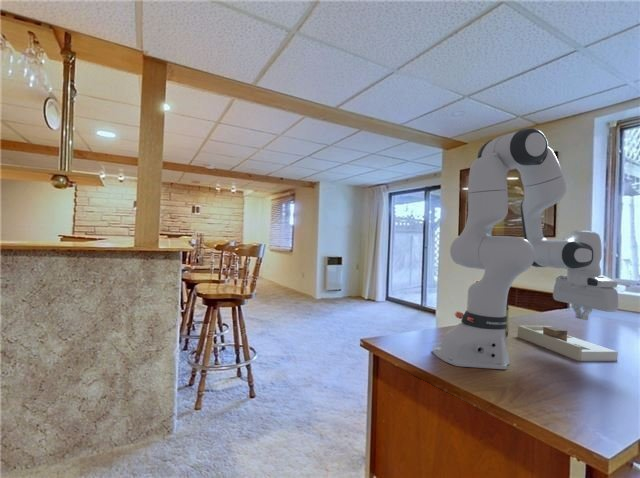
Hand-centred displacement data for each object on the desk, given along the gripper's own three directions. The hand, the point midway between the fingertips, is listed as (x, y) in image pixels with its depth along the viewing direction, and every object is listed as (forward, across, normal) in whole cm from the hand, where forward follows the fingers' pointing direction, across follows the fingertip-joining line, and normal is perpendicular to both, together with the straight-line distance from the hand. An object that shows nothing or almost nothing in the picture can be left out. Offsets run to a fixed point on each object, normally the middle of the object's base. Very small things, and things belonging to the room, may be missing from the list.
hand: (581, 319), depth 110 cm
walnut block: (+10, -9, -2) cm, 13 cm away
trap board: (+13, -9, +2) cm, 16 cm away
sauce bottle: (+13, -25, -11) cm, 30 cm away
